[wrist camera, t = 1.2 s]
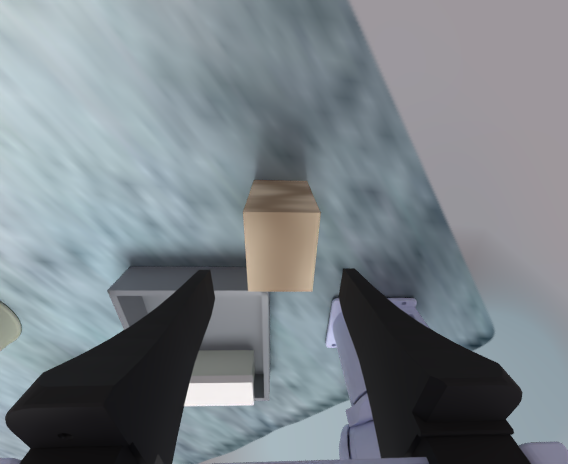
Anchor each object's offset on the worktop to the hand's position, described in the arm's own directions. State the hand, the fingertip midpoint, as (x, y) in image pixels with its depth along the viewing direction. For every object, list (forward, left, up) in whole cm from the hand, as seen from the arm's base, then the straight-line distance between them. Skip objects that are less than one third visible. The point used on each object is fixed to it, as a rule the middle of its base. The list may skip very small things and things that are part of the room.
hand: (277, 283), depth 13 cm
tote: (+8, +15, -9) cm, 19 cm away
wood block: (0, 0, -10) cm, 10 cm away
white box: (+8, +20, -9) cm, 23 cm away
